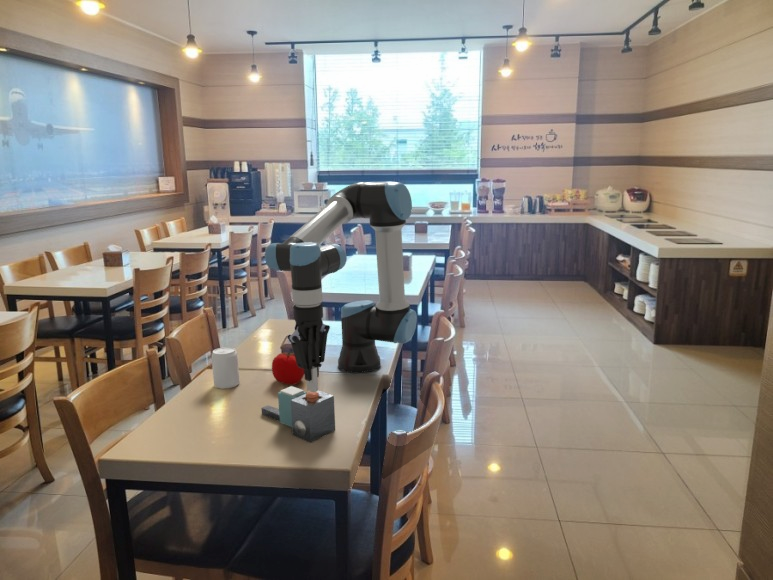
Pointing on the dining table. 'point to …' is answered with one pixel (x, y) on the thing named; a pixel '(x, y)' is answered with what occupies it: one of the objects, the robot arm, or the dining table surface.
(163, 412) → the dining table surface
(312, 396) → the plunger
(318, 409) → the grey box
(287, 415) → the block
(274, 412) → the rail
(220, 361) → the beverage can
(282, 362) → the tomato
